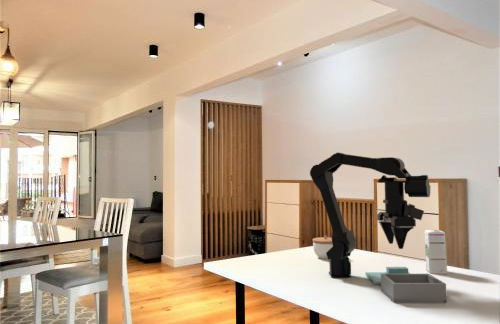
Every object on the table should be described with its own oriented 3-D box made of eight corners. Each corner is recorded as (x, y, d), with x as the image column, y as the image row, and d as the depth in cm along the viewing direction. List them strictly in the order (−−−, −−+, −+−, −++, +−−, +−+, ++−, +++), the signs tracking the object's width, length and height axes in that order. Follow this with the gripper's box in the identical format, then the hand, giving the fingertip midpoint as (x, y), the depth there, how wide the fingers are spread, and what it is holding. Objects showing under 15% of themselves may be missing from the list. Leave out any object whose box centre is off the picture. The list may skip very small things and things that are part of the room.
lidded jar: (311, 255, 167) (311, 233, 167) (336, 255, 167) (335, 233, 167) (314, 260, 156) (314, 237, 157) (341, 260, 156) (340, 237, 156)
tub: (393, 302, 103) (393, 283, 103) (381, 290, 114) (380, 273, 114) (446, 302, 102) (446, 283, 102) (429, 290, 113) (428, 273, 113)
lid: (375, 286, 119) (374, 268, 119) (365, 277, 130) (365, 260, 131) (422, 286, 118) (422, 268, 119) (408, 277, 130) (408, 260, 130)
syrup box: (447, 274, 132) (446, 232, 132) (429, 273, 133) (428, 231, 133) (442, 270, 137) (441, 229, 138) (425, 269, 138) (424, 229, 139)
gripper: (432, 198, 112) (434, 251, 111) (409, 195, 130) (410, 241, 130) (394, 198, 112) (395, 251, 112) (376, 195, 131) (377, 241, 130)
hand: (395, 246), depth 121 cm, fingers open, 9 cm apart
